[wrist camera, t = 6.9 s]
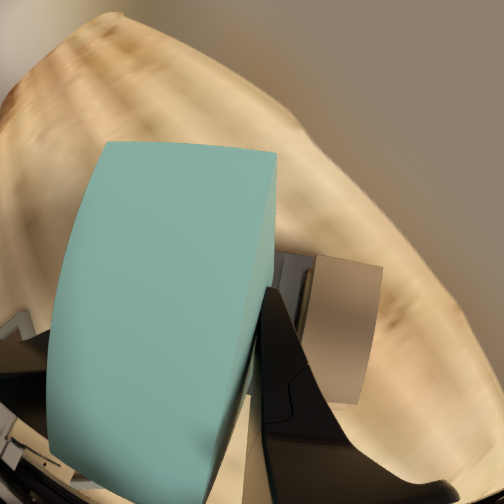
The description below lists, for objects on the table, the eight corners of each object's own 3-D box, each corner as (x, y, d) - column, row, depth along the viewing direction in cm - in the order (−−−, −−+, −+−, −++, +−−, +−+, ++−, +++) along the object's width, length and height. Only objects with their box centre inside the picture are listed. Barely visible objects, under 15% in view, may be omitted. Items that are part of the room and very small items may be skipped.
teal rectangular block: (251, 378, 14) (196, 525, 2) (200, 365, 14) (49, 452, 3) (273, 275, 15) (276, 153, 4) (222, 265, 16) (107, 141, 4)
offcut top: (351, 398, 14) (357, 404, 13) (287, 391, 14) (289, 397, 13) (375, 270, 15) (383, 266, 14) (313, 258, 16) (317, 254, 15)
